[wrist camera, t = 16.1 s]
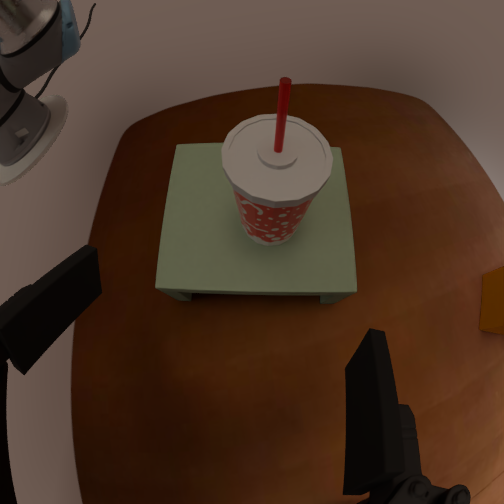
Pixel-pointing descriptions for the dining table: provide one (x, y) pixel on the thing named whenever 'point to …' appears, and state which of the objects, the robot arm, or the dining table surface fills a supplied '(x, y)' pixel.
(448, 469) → the dining table surface
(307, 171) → the beverage cup
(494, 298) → the orange juice
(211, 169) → the shelf
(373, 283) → the dining table surface
